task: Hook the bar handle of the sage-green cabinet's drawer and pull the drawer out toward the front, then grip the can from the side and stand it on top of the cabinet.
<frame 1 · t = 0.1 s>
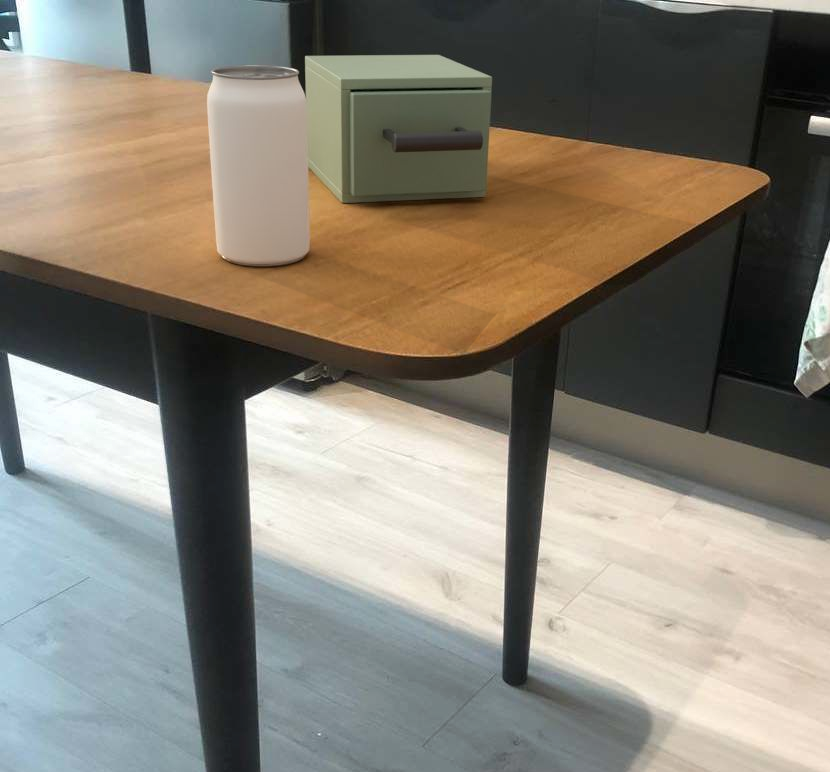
cabinet: (392, 181, 97), on the table
drawer: (407, 134, 91), point 5 cm above the table, slide at 0.5 cm
can: (263, 257, 76), on the table
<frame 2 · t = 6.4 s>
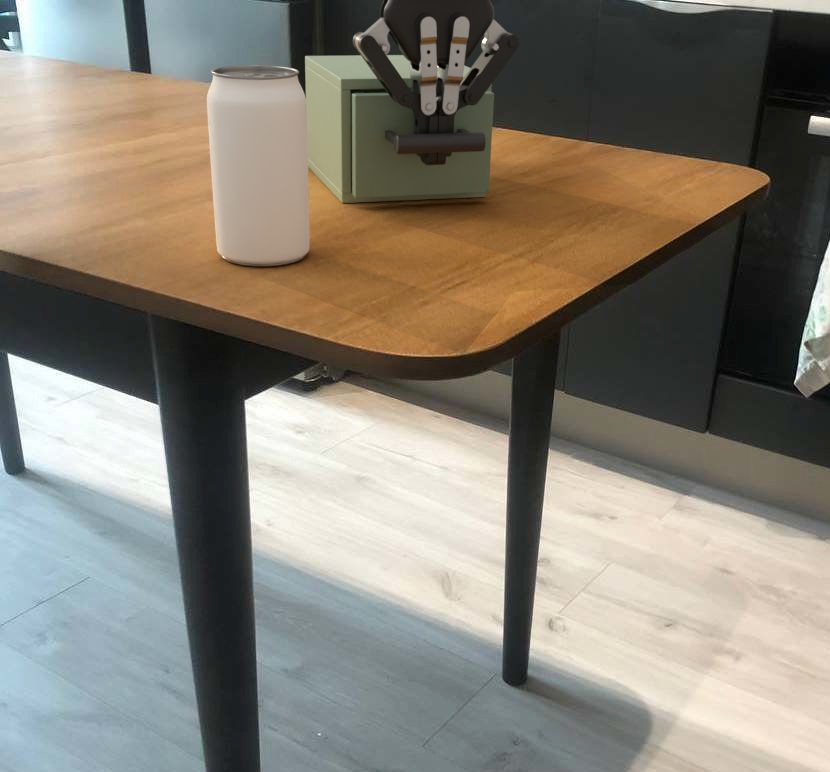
hand: (433, 162, 85), 4 cm above the table, tool pointing down, fingers closed
drawer: (409, 135, 90), point 5 cm above the table, slide at 1.1 cm, touching gripper
everything else where it was.
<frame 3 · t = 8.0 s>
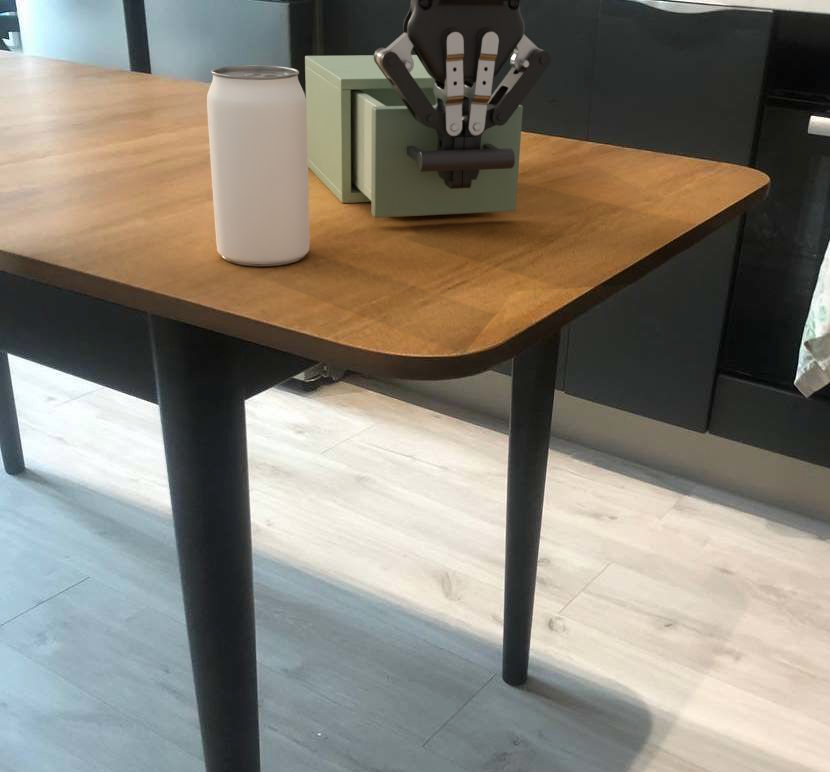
hand: (457, 186, 80), 4 cm above the table, tool pointing down, fingers closed
drawer: (431, 150, 85), point 5 cm above the table, slide at 7.5 cm, touching gripper
everything else where it was.
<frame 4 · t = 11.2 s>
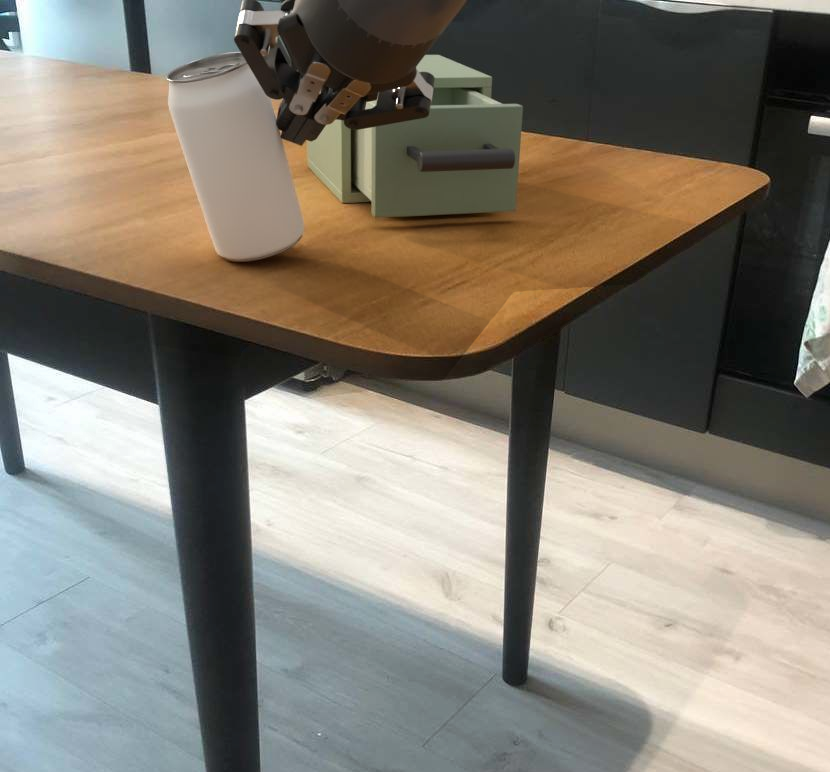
hand: (293, 130, 72), 8 cm above the table, tool tilted 55°, fingers closed
drawer: (431, 150, 85), point 5 cm above the table, slide at 7.5 cm
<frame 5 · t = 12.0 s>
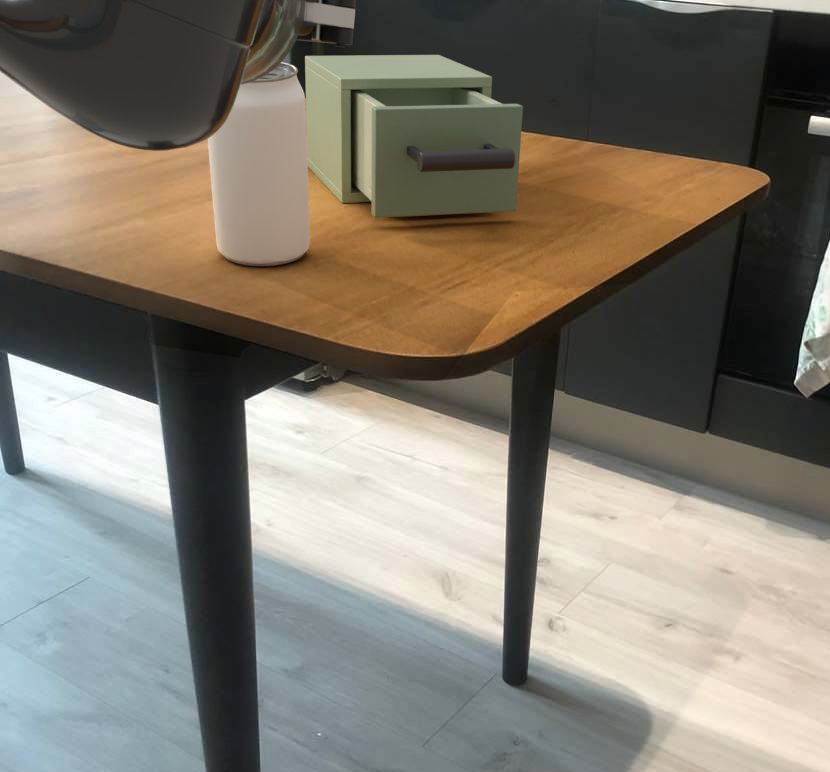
hand: (246, 13, 62), 16 cm above the table, tool horizontal, fingers closed
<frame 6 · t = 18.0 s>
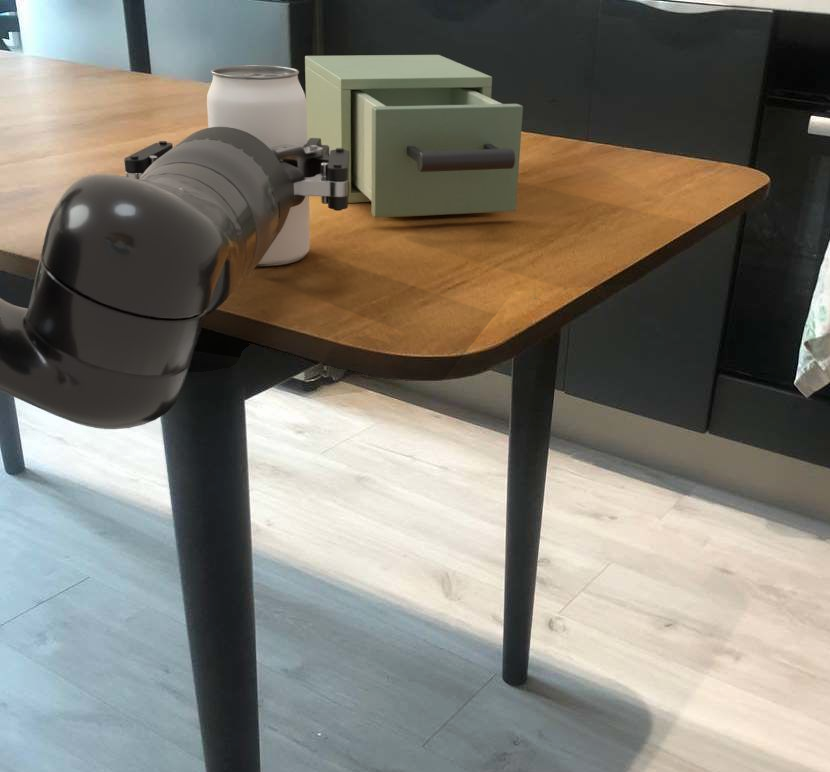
hand: (266, 151, 75), 7 cm above the table, tool horizontal, fingers closed on can, 6 cm apart
can: (264, 257, 76), on the table, touching gripper
everything else where it was.
when the fingers open (16 cm above the table, at t = 26.6 s): can stays where it is, resting on cabinet.
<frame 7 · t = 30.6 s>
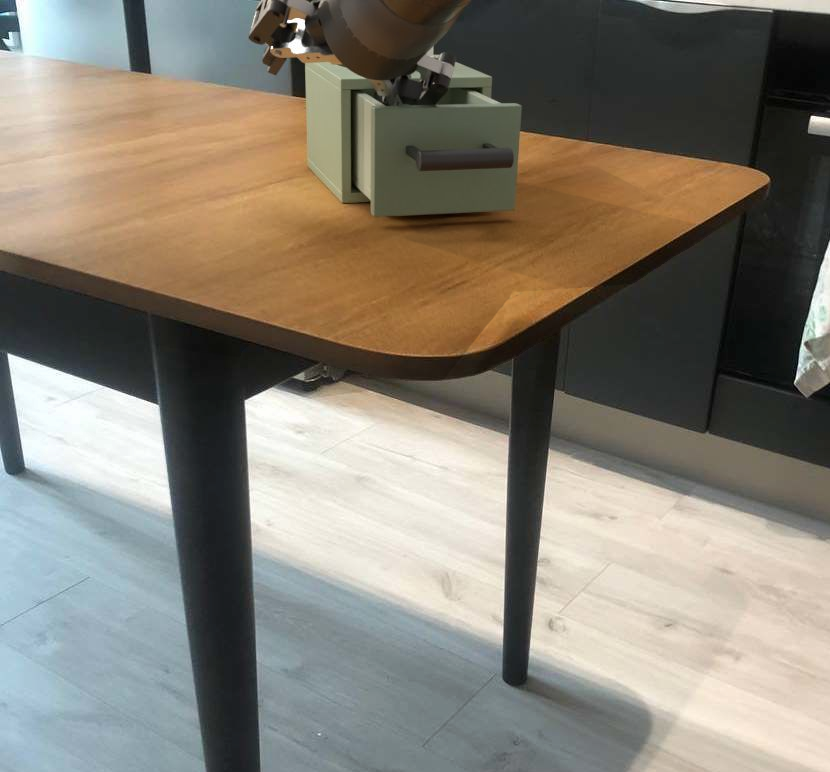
hand: (326, 84, 85), 9 cm above the table, tool tilted 65°, fingers open, 8 cm apart
drawer: (430, 150, 85), point 5 cm above the table, slide at 7.2 cm, touching hand
can: (395, 68, 92), point 9 cm above the table, touching cabinet
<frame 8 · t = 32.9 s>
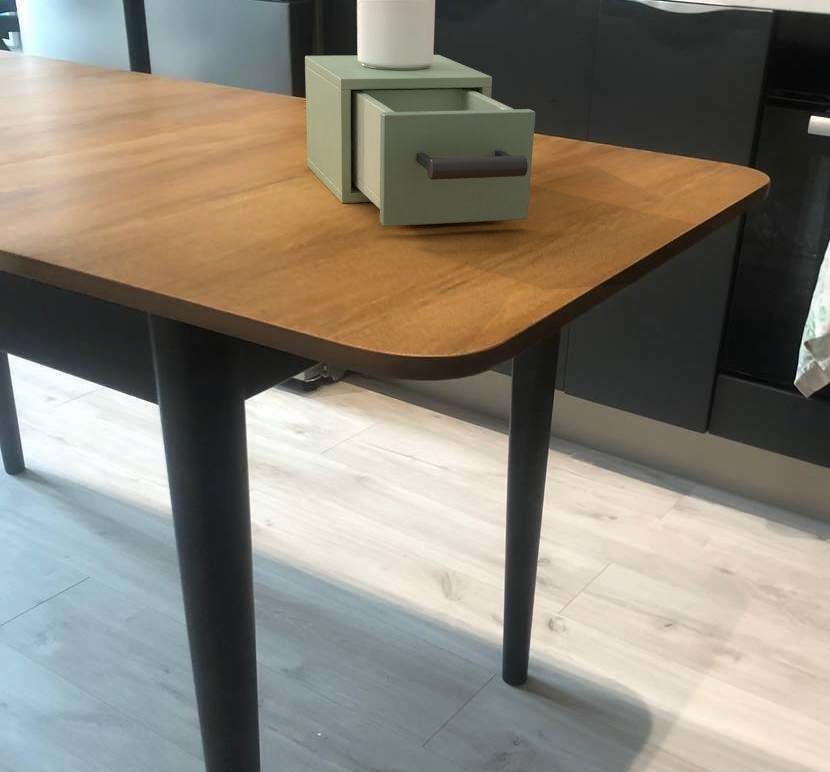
drawer: (441, 157, 83), point 5 cm above the table, slide at 10.0 cm
everything else where it was.
at the end: drawer slide at 10.0 cm; can inside the target area (0.1 cm from its centre), point 9.4 cm above the table; can tilted 0° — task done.
